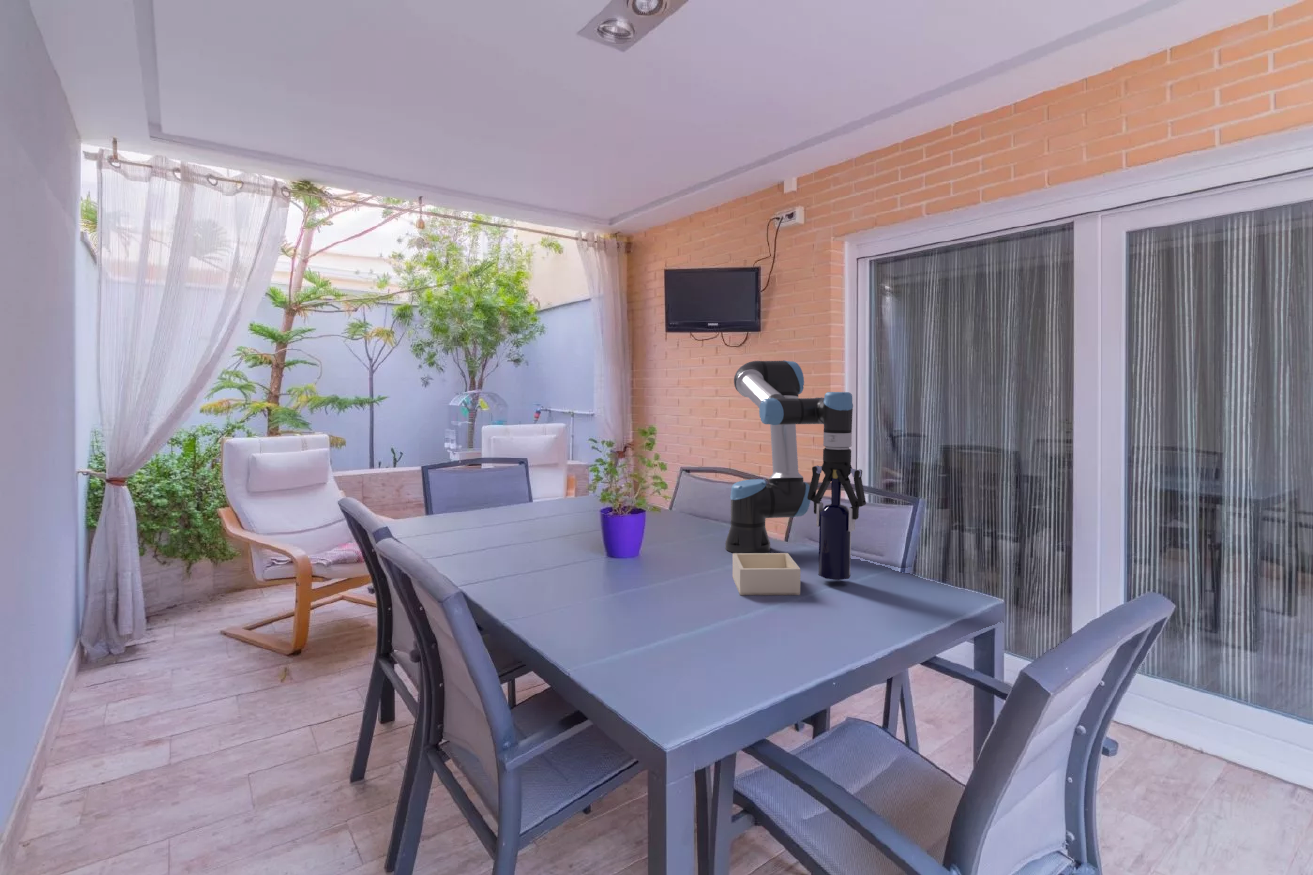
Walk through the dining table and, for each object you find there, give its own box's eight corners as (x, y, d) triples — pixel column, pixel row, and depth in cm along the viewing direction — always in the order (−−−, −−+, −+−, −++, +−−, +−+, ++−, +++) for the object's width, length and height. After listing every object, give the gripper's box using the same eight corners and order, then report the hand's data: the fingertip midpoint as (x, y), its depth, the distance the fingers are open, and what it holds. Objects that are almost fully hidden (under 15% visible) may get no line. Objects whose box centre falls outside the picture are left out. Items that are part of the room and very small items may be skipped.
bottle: (828, 568, 184) (830, 466, 182) (857, 574, 178) (860, 469, 175) (811, 574, 178) (813, 469, 175) (840, 582, 171) (843, 472, 169)
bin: (732, 576, 184) (732, 553, 183) (787, 576, 184) (787, 553, 183) (739, 595, 168) (740, 569, 167) (800, 595, 168) (800, 569, 167)
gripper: (795, 446, 179) (794, 524, 181) (870, 451, 165) (867, 536, 167) (807, 444, 184) (806, 520, 186) (880, 449, 171) (878, 531, 173)
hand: (835, 528), depth 177 cm, fingers closed on bottle, 9 cm apart
